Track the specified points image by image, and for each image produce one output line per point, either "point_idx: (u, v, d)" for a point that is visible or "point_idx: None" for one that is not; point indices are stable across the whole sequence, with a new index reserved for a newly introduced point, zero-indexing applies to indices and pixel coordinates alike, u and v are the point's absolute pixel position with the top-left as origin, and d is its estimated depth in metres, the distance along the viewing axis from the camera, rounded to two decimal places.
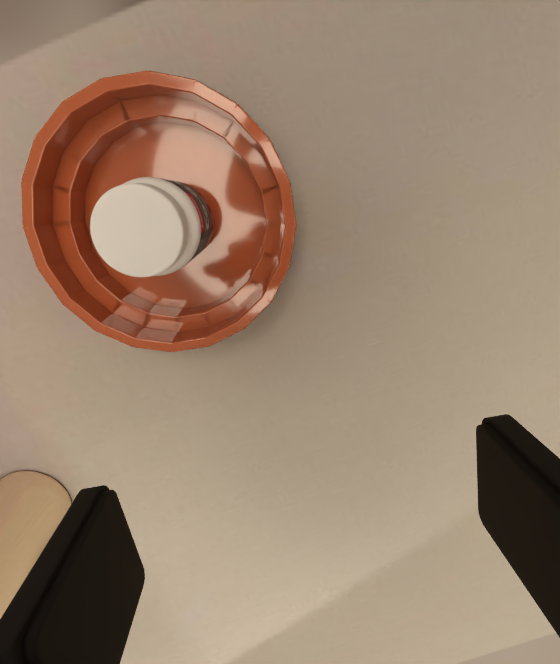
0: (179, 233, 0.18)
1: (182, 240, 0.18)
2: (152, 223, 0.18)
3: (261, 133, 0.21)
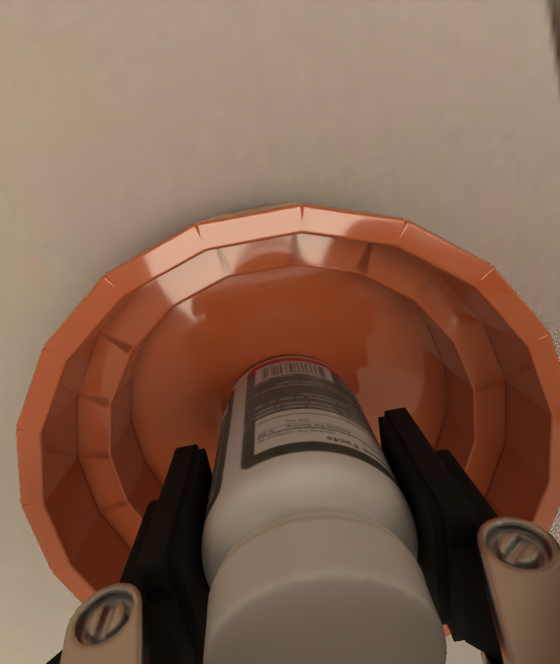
0: None
1: None
2: None
3: (448, 633, 0.12)
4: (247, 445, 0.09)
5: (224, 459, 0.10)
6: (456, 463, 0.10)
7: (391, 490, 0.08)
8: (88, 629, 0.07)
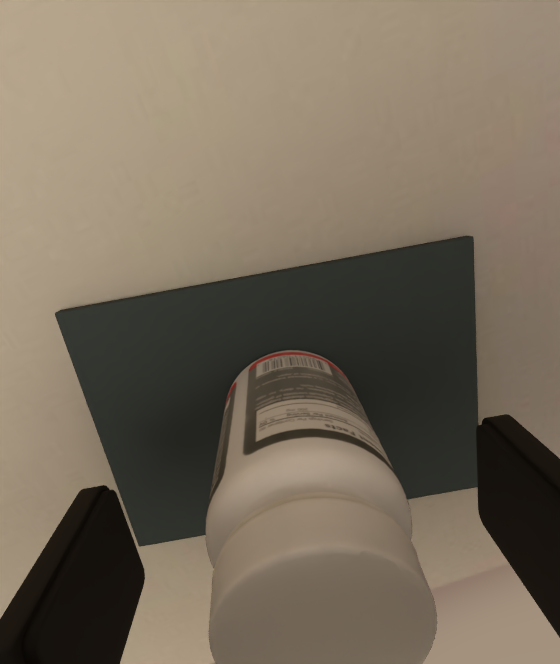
0: None
1: None
2: None
3: None
4: (249, 433, 0.10)
5: (227, 447, 0.10)
6: None
7: (385, 474, 0.09)
8: None
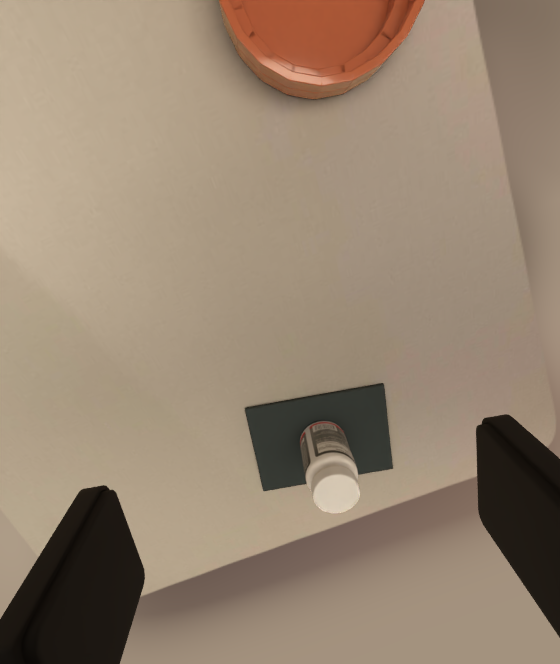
0: (335, 512, 0.35)
1: (331, 512, 0.35)
2: (340, 501, 0.35)
3: (387, 55, 0.28)
4: (316, 451, 0.37)
5: (309, 454, 0.37)
6: None
7: (351, 461, 0.36)
8: None
